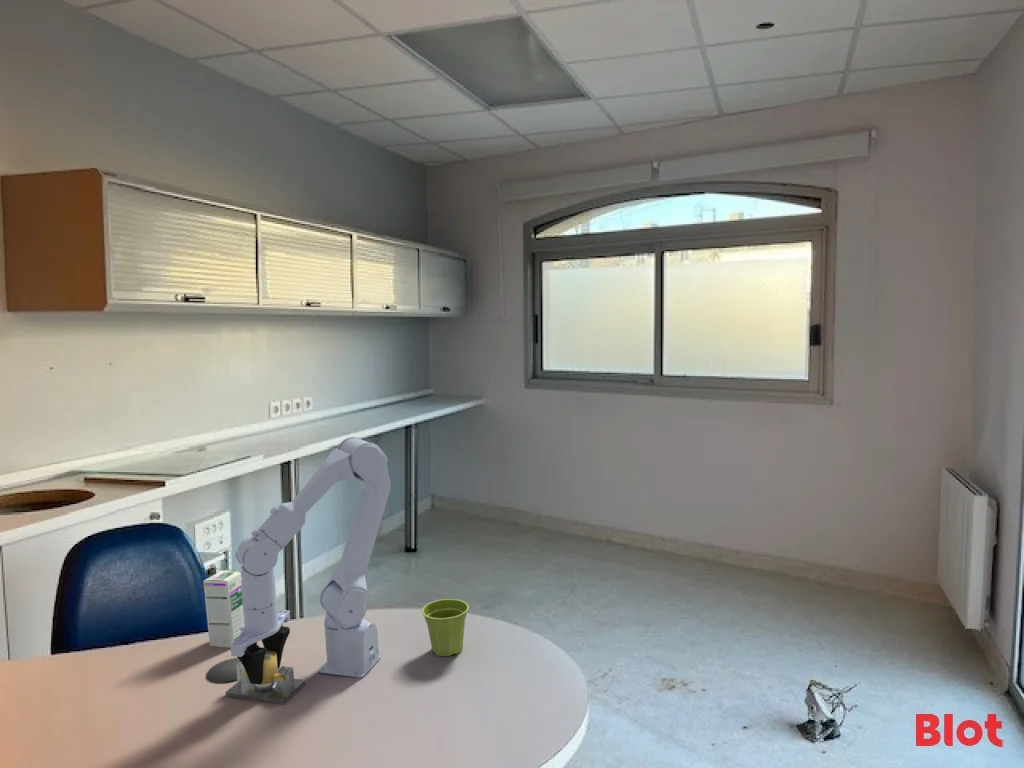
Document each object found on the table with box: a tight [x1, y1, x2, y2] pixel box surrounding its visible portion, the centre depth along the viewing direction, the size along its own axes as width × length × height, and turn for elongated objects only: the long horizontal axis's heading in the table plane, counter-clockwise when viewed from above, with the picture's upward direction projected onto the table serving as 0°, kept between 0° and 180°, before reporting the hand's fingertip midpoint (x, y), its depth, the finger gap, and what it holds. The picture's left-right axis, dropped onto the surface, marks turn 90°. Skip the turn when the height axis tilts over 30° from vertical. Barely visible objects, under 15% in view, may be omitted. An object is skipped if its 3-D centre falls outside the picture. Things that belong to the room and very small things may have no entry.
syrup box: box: [202, 569, 244, 649], centre depth 144 cm, size 6×6×14 cm
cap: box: [244, 651, 286, 684], centre depth 124 cm, size 8×4×4 cm, turn 74°
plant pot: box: [421, 598, 470, 657], centre depth 137 cm, size 9×9×9 cm
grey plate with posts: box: [225, 662, 307, 705], centre depth 125 cm, size 12×7×5 cm, turn 74°
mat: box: [206, 657, 241, 684], centre depth 133 cm, size 9×9×1 cm
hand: (265, 675), depth 125 cm, fingers open, 5 cm apart
